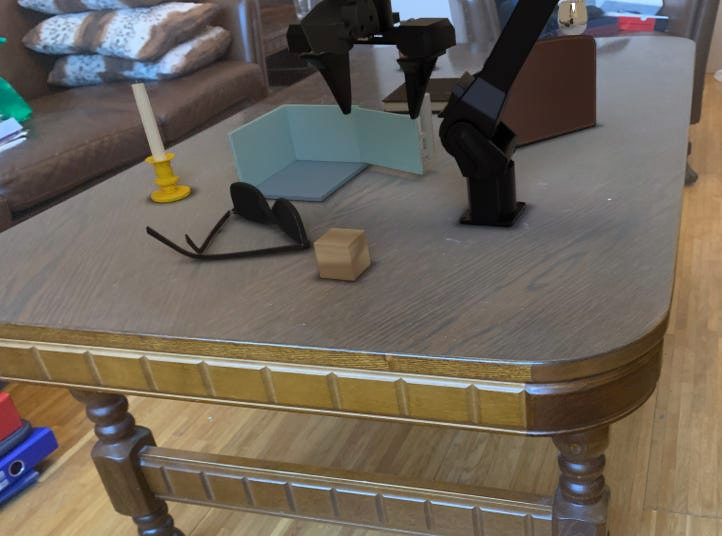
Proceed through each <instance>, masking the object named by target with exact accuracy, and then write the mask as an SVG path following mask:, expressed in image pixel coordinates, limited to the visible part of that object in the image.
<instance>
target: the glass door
mask: <svg viewBox="0 0 722 536" xmlns="http://www.w3.org/2000/svg"><path fill="white" fill-rule="evenodd" d="M353 110H354V116H355V122H356V128H357V135H358V141H359V147H360V153H361V159H362V162H365V163H368V165H375V166H379V167H384V168H389V169H393V170H397V171H402V172H407V173H412V174H416V175H424V167H423V161H422V160H423V158H425V159H427V160H430V159H435V158H436V157H437V148H436V139H435V130H434V122H433V113H432V111H431V102H430V94H429V93H425V96H424V99H423V103H422V106H421V110H420V113H419V121H420V129H421V131H419V127H418V120H417V119H418V118H416V119H415V120H412V119H411V118H410V115H408V114H395V113H388V112H384V111H383V110H376V109H369V108H363V107H359V108H357V107H354V108H353ZM420 141H422V145H423V148H422V149H421V144H420Z"/></svg>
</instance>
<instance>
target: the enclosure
mask: <svg viewBox="0 0 722 536" xmlns="http://www.w3.org/2000/svg"><path fill="white" fill-rule="evenodd" d="M354 107H357V108H360V107H359V105H358V104H357V105H356V104H354V105H353V104H352V105H351V113H350V114H348V115H344V114H343V113H342V111H341V109H340V107H339V105H338V104H301V103H300V104H296V103H295V104H293V103H291V104H290V103H283V104H281V105H280V106H277V107H276V108H274V109H272V110H270V111H267V112H266V113H263V114H262V115H260V116H258V117H257V118H254V119H253V120H251V121H248V122H247V123H245V124H243V125H241V126H238V127H237V128H235V129H233V130H231V131H230V132H228V133H226V135H227V139H228V142H229V146H230V151H231V155H232V159H233V162H234V166H235V167H234V168H235V172H236V174H237V179H238V182H245V183H248V184H251V185H253V186H255V187H256V188H258V189H259V190H260V191H261V193H262V194H263V195H264V197H265V199H272V200H276V199H278V198H285V199H287V200H288V201H305V202H320V203H321V202H322V201H324V200H325V199H326V198H328V197H329V196H330V195H332V194H333V193H334V192H336V191H337V190H338V189H340V188H341V187H342V186H344V185H345V184H346V183H347V182H349V181H350V180H352V179H353V178H354V177H355V176H356V175H358V174H359V173H360V172H362V171H363V170H364V169H366V168H367V167H368V166H369V163H365V162H362V159H361V153H360V147H359V141H358V135H357V128H356V122H355V116H354V110H353V108H354Z"/></svg>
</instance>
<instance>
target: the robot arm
mask: <svg viewBox="0 0 722 536" xmlns="http://www.w3.org/2000/svg"><path fill="white" fill-rule="evenodd" d="M560 2H561V0H518V1H517V2H516V4H515V7H514V8H513V10H512V12H511V13H510V15H509V18H508V20H507V21H506V24H505V25H504V27H503V29H502V31H501V32H500V35H499V36H498V38H497V40H496V42H495V44H494V46H493V48H492V50H491V51H490V54H489V55H488V56H487V58H488V59H487V58H486V59H487V61H486V63H485V65H484V64H483V65H484V66H482V69H481V70H480V71H481V72H480V73H479V74H478V76H477V77H476V78H474V77H473V76H472V75H473V74H471V73H470V72H468V71H467V70H465V71H464V72H463V74H461V76H460V77H458V78H459V80H458V81H457V82H456V83H455V84H454V87H453V89H452V92H451V95H450V99H449V102H448V103H447V105H446V106H445V107H444V108H443V109H442V111H441V112H440V113H437V118H438V119H442V120H441V122H440V124H439V128H438V137H439V140H440V144H441V146H442V148H443V149H444V150H445V151H446V153H448V155H450V156H451V157H452V158H454V160H455V162H456V165H457V166H458V169H459V171H460V173H461V175H462V177H463V178H465V179H466V191H467V192H466V193H467V205H468V208H467V209H465V212H463V214H462V215H461V216H460V217H459V218H458V219H459V220H458V221H459V223H460V224H466V225H467V224H468V225H483V226H499V227H512V226H513V225H514V224H515V222H516V221H517V220H518V218H519V217H520V216H521V214H522V213H523V212H524V211H525V209H526V207H527V203H526V202H525V201H517V200H518V199H517V184H516V166H515V165H516V163H515V160H514V159H513V155H514V154H516V151H517V148H518V147H517V144H518V141H519V135H518V134H516V133H515V132H514V131H513V130H512V129H511V128H510V127H509V126H508V125H507V124H506V123H505V122H504V121H502V120H501V119H502V116H503V114H504V111H505V108H506V105H507V102H508V99H509V96H510V92H511V89H512V86H513V83H514V81H515V79H516V77H517V75H518V73H519V72H520V70H521V68H522V66H523V65H524V63H525V61H526V59H527V58H528V56H529V54H530V52H531V50H532V49H533V47H534V45H535V43H536V42H537V40H539V39H540V36H541V34H542V32H543V31H544V29H545V27H546V26H547V24H548V22H549V21H550V18H551V17H552V15H553V13H554V11H555V10H556V8H557V6H558V4H560ZM414 19H415V20H412V21H410V22H407V23H404V24H401V25H400V21H401V16H400V11H393V7H392V0H321V1H319V2H318V3H316V4H315V5H314V7H312V8H311V10H309V12H308V13H307V14H306V15H305V16H304V17H303V18H302V19H301V20H300V21H296V22H292V23H289V24H288V28H287V29H286V34H285V39H286V45H287V49H288V53H291V54H294V53H296V54H299V55H298V58H299V59H300V61H305V62H307V63H308V64H310V65H311V66H313V67H314V68H316V69H317V71H318V72H319V73H320V75H321V76H322V78H323V79H324V82H325V83H326V85H327V86H328V88H329V91H330V92H331V94H332V96H333V98H334V100H335V102H336V103H337V105H339V107H340V109H341V111H342V113H343V114H344V115H348V114H350V113H351V105H353V103H352V101H353V99H352V98H353V97H352V96H353V95H352V82H351V81H352V80H351V63H350V61H351V60H350V52H351V51H352V50H353V48H354V46H355V45H368V46H395V47H396V49H397V51H398V50H399V51H400V52H401V53H402V54H403V55H404V56H403V57H401V58H396V59H395V61H396V63H397V64H398V66H399V68H400V67H401V69H402V70H403V71H402V72H403V75H404V76H403V77H404V82H405V85H406V94H407V103H408V110H409V114H408V115H409V116H410V118H411V119H412V120H415V119H416V118H417V119H418V118H419V117H420V110H421V106H422V103H423V99H424V96H425V93H426V89H427V85H428V83H429V79H430V78H432V77H431V76H432V74H433V71H434V70H433V69H434V67H435V64H436V65H437V62H438V60H439V57H442V56H444V55H446V54H447V50H448V49H451V48H453V47H456V46H457V36H456V28H455V26H454V25H453V23H452V22H451V20H450V19H449V17H418V18H414ZM397 24H399V25H397ZM396 25H397V26H396ZM399 51H398V52H399Z"/></svg>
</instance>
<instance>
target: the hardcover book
mask: <svg viewBox="0 0 722 536" xmlns="http://www.w3.org/2000/svg"><path fill="white" fill-rule="evenodd" d="M459 78H460V77H433V78H432V77H430V79H429V83H428V85H427V89H426V93H429V94H430V102H431V111H432V114H439V113H440V112H441V111H442V109H443V108H444V107H445V106H446V105H447V103H448V102H449V99H450V95H451V92H452V89H453V87H454V84H455V83H456V82H457V81H458V80H459ZM381 103H384V111H383V112H388V113H395V114H401V115H410V114H409V110H408V103H407V94H406V85H405V81H404V82H403V83H401V84H400V85H399V86H398V87H397V88H396V89H394V90H393V91H391V92H390V93H389V94H388V95H387V96H386V97H384V98H383V99H382V100H381Z"/></svg>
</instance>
